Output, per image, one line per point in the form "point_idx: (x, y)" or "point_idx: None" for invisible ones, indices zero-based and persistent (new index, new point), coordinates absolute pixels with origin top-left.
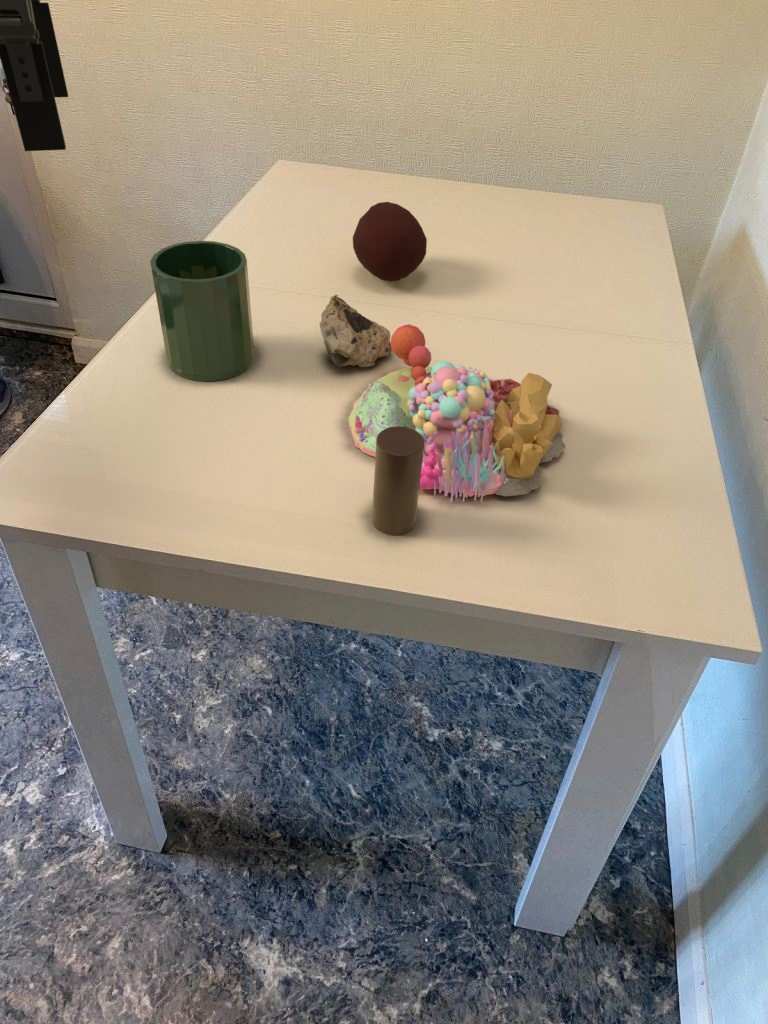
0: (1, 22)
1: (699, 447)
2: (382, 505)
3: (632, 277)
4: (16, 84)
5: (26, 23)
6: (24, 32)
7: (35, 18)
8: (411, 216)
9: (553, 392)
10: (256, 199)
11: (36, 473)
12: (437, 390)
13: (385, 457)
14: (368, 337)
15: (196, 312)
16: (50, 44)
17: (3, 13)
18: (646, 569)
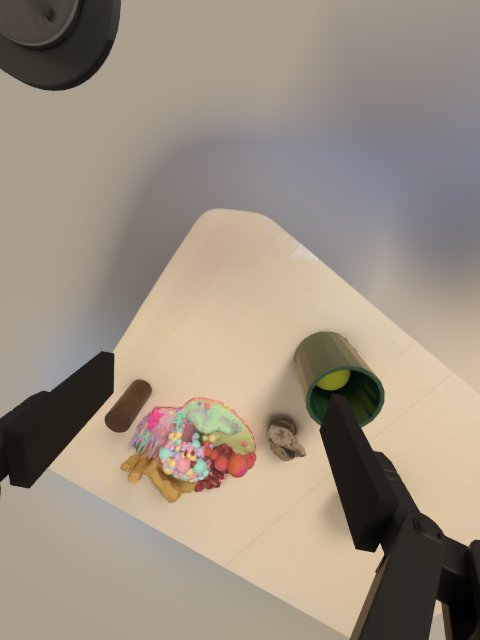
0: None
1: (146, 521)
2: (127, 390)
3: (295, 589)
4: (23, 404)
5: None
6: None
7: (355, 505)
8: (380, 543)
9: (208, 497)
10: None
11: (244, 228)
12: (173, 456)
13: (112, 409)
14: (277, 448)
15: (306, 372)
16: (339, 479)
17: None
18: (84, 459)
